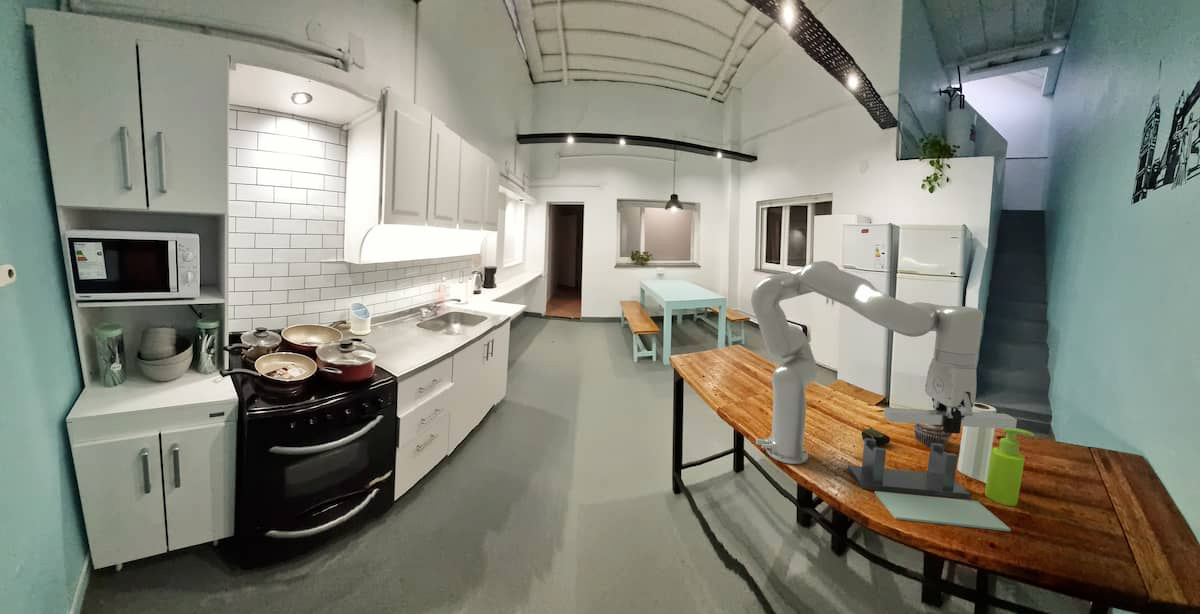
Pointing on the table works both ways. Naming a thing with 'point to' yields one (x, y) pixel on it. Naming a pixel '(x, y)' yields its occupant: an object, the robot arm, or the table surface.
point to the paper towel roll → (976, 447)
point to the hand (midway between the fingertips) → (945, 428)
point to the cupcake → (931, 434)
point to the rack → (909, 473)
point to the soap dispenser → (1006, 469)
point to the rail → (938, 416)
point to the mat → (940, 511)
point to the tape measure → (876, 436)
